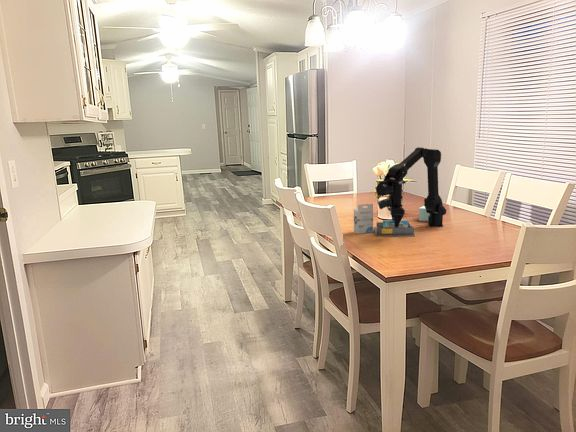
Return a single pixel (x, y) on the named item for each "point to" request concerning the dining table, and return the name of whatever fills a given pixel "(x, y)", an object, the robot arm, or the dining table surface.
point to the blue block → (391, 224)
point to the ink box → (363, 219)
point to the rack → (394, 231)
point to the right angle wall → (423, 214)
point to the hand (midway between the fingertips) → (395, 225)
